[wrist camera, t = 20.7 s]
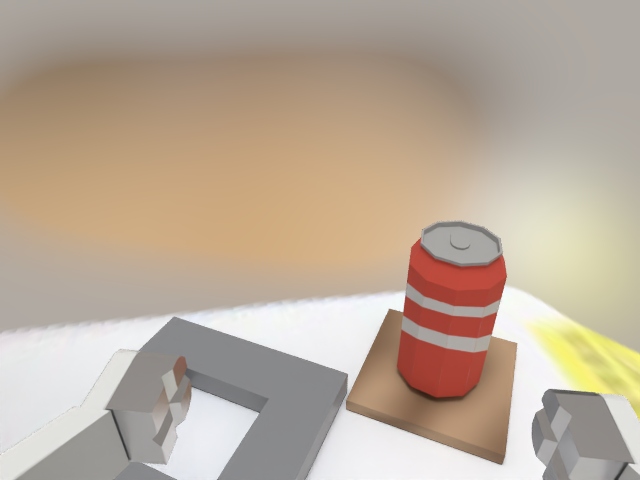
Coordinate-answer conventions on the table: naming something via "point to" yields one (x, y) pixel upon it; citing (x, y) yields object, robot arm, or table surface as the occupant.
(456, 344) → the beverage can
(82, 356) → the table surface
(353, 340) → the table surface
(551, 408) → the robot arm
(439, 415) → the coaster pad
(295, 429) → the dock
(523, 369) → the table surface
